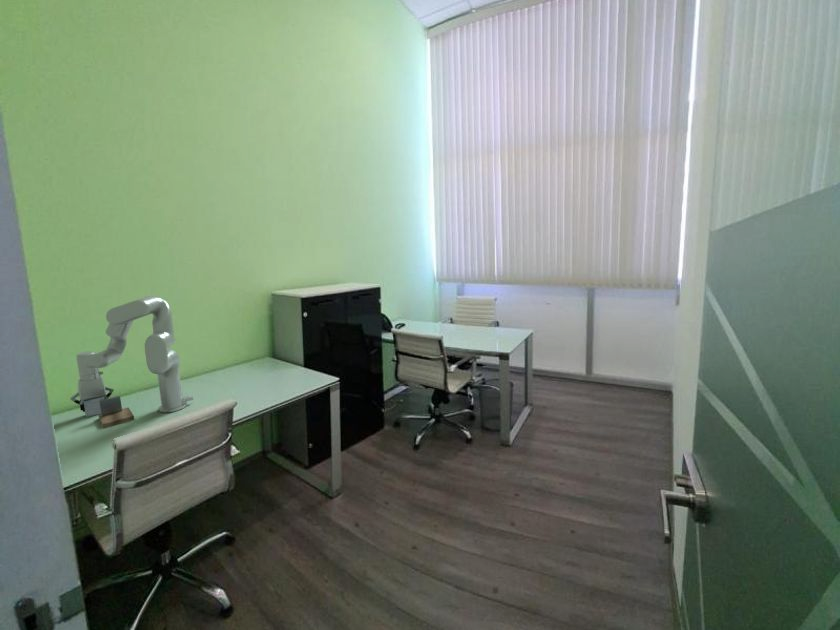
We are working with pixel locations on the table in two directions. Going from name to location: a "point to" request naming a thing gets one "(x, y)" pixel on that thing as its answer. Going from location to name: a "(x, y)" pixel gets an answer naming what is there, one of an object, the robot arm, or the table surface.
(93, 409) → the medicine box
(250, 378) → the table surface
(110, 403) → the wooden display stand
